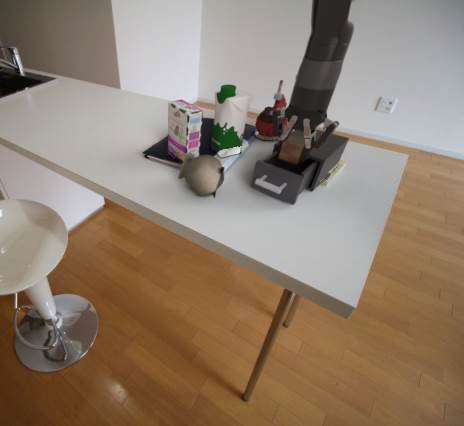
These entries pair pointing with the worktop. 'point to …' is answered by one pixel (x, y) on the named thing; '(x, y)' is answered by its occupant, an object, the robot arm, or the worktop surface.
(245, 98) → the milk carton
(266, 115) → the cake
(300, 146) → the block
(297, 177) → the drawer
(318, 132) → the cabinet
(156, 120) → the worktop surface
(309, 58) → the robot arm
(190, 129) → the candy bar box
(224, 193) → the worktop surface
